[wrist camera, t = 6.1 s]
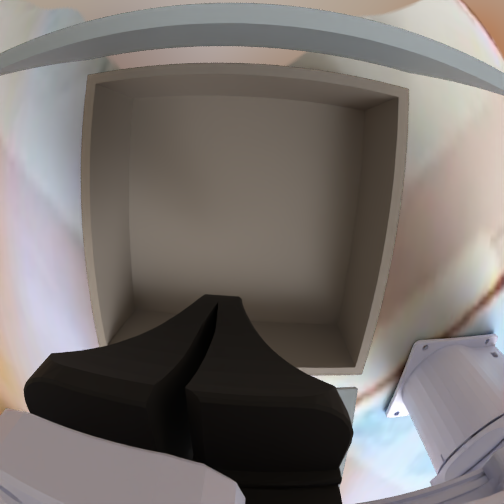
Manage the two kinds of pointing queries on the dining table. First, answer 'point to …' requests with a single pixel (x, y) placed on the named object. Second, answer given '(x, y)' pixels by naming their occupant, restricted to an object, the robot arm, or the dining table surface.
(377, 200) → the carton
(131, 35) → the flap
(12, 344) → the dining table surface
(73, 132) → the dining table surface
